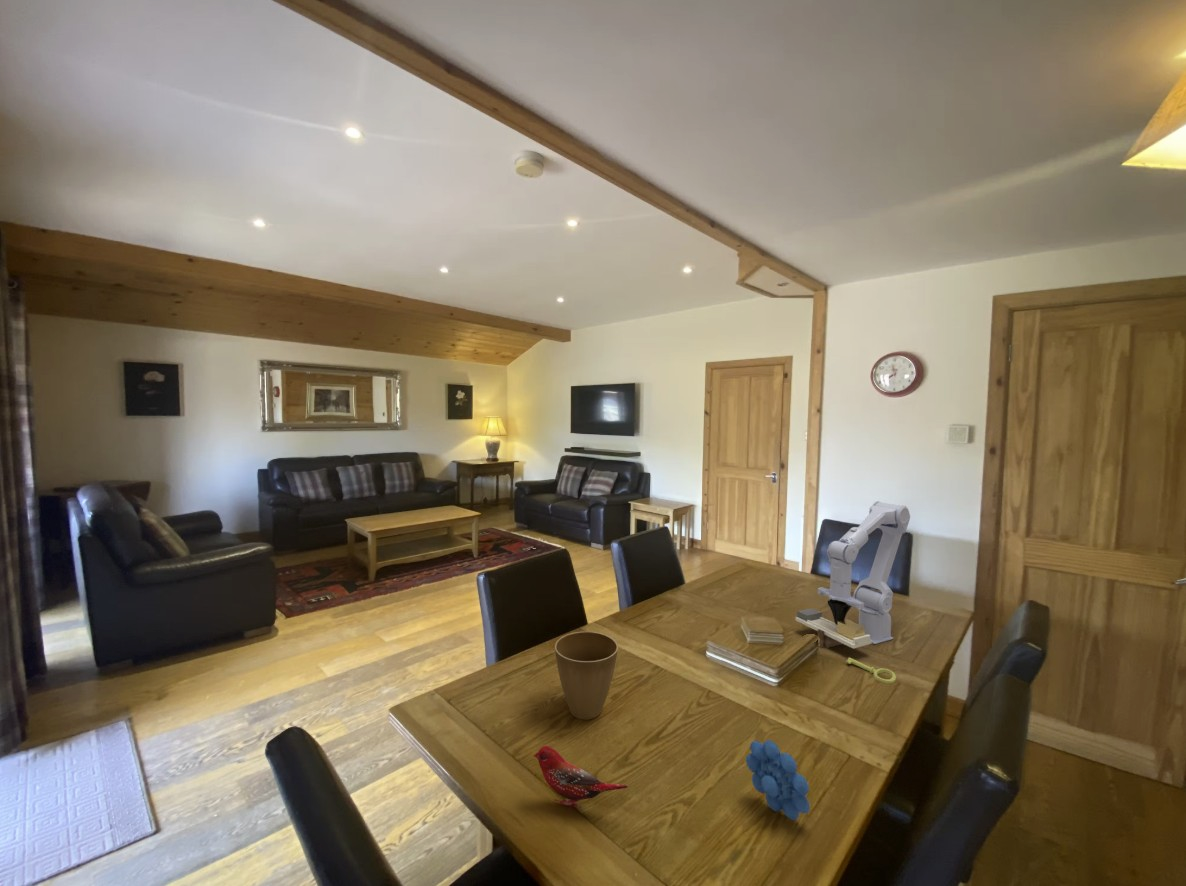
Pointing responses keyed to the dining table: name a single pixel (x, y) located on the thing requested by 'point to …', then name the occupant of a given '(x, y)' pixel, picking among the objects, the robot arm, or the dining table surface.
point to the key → (874, 671)
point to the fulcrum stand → (827, 640)
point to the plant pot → (586, 671)
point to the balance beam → (829, 628)
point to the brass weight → (850, 629)
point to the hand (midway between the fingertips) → (838, 624)
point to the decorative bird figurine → (570, 778)
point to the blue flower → (778, 779)
